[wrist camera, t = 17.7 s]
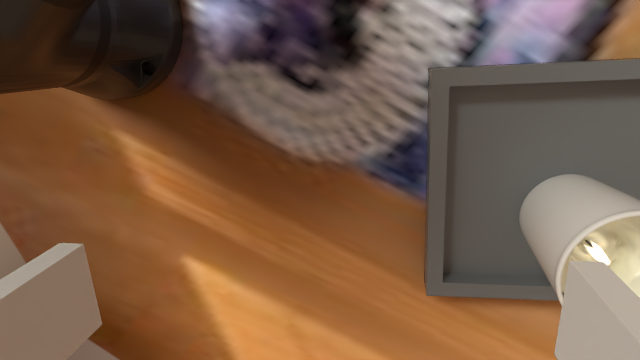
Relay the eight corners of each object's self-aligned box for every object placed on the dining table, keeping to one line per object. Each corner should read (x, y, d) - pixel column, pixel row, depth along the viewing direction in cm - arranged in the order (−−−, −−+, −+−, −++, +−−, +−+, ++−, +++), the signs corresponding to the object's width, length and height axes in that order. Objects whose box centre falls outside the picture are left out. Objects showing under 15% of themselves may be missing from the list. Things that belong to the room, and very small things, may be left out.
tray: (424, 280, 45) (426, 295, 42) (428, 68, 39) (431, 69, 36) (653, 287, 41) (673, 305, 38) (699, 55, 35) (726, 55, 32)
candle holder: (487, 217, 41) (525, 280, 29) (570, 143, 38) (649, 181, 26) (559, 280, 41) (624, 366, 30) (647, 213, 38) (756, 280, 27)
